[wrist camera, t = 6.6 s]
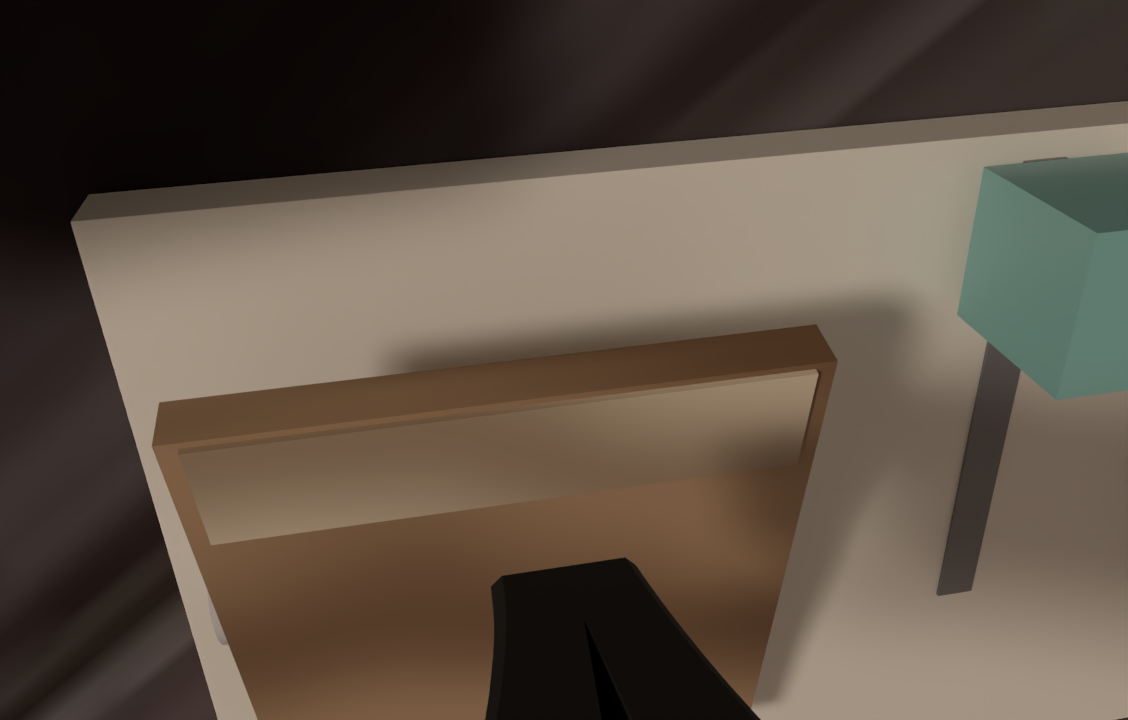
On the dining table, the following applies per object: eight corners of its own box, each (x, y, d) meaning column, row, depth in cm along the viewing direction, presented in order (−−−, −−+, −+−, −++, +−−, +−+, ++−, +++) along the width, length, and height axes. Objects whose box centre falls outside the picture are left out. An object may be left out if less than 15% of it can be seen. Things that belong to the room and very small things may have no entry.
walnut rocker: (727, 718, 22) (741, 758, 21) (302, 793, 20) (301, 837, 20) (816, 324, 14) (840, 365, 14) (158, 402, 13) (150, 452, 12)
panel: (1235, 657, 28) (1333, 752, 25) (268, 830, 24) (257, 965, 21) (1480, 69, 20) (1663, 114, 17) (88, 194, 16) (33, 277, 13)
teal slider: (1096, 298, 19) (1216, 378, 16) (957, 314, 18) (1055, 400, 16) (1134, 152, 17) (1271, 213, 15) (984, 166, 17) (1096, 233, 14)
